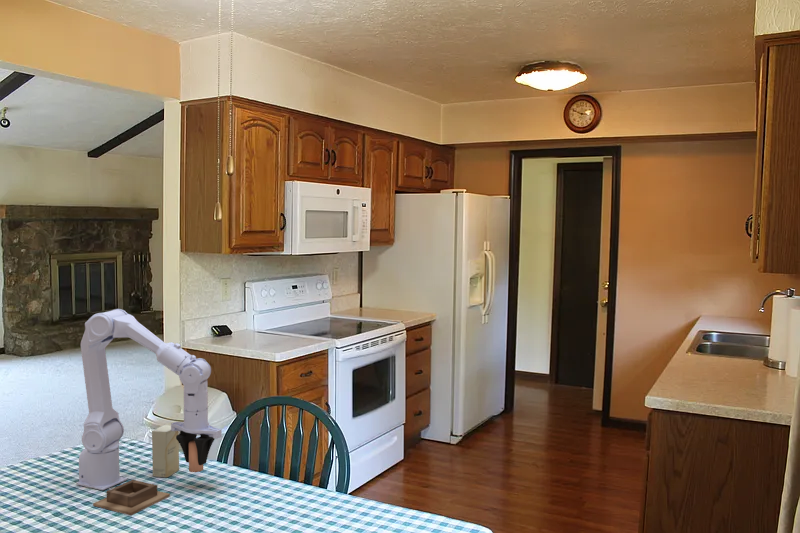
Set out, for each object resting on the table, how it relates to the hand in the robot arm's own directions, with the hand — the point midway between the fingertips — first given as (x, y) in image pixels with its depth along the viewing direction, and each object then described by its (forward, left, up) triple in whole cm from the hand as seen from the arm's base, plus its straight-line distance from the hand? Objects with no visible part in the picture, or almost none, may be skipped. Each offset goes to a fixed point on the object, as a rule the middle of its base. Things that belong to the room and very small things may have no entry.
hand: (196, 462), depth 166 cm
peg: (0, 0, -2) cm, 2 cm away
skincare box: (-14, +4, -7) cm, 16 cm away
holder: (-8, -13, -6) cm, 17 cm away
